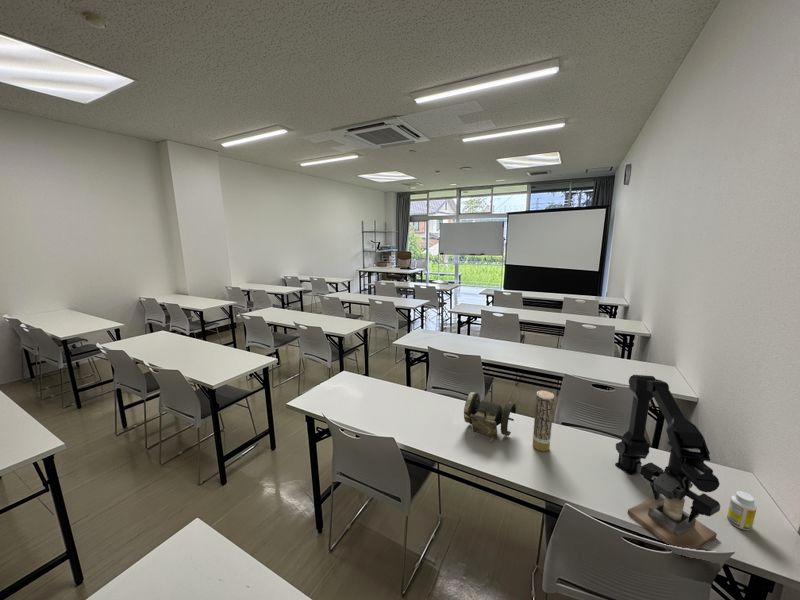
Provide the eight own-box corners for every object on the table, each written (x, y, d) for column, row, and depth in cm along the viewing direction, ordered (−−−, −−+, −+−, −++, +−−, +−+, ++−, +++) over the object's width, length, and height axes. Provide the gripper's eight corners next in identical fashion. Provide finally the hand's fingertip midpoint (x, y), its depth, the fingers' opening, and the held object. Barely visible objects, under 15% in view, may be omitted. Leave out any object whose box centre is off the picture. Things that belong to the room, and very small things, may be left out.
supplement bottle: (750, 523, 102) (757, 495, 100) (752, 534, 98) (759, 506, 96) (726, 513, 106) (732, 486, 104) (726, 523, 102) (733, 496, 100)
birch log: (551, 453, 136) (556, 398, 131) (534, 451, 137) (538, 397, 132) (547, 443, 142) (552, 391, 137) (531, 441, 144) (535, 389, 139)
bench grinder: (475, 406, 167) (468, 380, 156) (519, 417, 154) (515, 390, 144) (461, 440, 153) (453, 414, 143) (508, 455, 141) (502, 427, 131)
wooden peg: (658, 517, 103) (662, 493, 101) (666, 512, 104) (671, 489, 103) (674, 529, 99) (679, 504, 97) (683, 524, 100) (688, 499, 99)
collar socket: (627, 513, 106) (629, 501, 105) (657, 498, 112) (659, 487, 111) (684, 557, 91) (687, 544, 91) (716, 537, 97) (718, 525, 96)
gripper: (631, 454, 103) (625, 496, 106) (703, 497, 86) (693, 545, 89) (653, 446, 107) (646, 486, 110) (726, 485, 90) (715, 531, 93)
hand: (672, 510), depth 101 cm, fingers open, 9 cm apart
